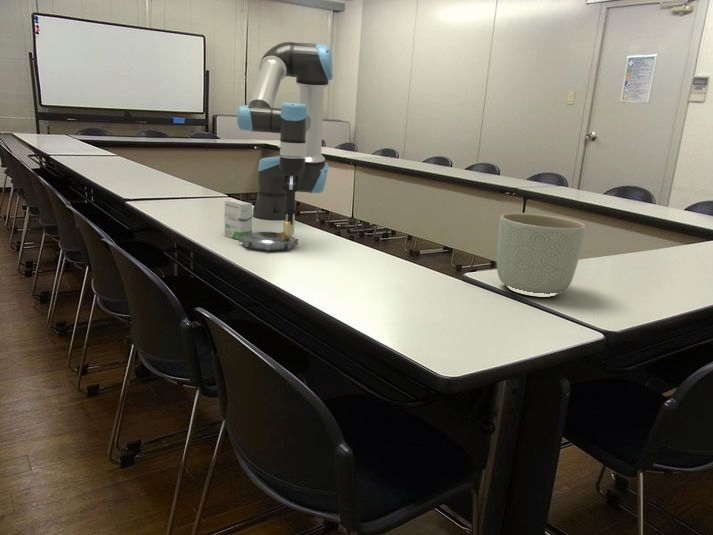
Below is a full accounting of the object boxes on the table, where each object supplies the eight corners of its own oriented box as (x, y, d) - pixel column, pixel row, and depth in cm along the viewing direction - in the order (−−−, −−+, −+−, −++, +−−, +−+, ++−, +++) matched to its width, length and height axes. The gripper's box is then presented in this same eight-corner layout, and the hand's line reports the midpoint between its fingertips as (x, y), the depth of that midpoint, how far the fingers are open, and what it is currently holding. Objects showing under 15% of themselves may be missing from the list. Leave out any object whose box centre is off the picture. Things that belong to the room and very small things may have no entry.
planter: (573, 309, 138) (587, 232, 133) (485, 295, 144) (496, 220, 139) (573, 288, 157) (585, 219, 152) (495, 275, 163) (505, 209, 158)
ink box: (252, 239, 186) (253, 203, 182) (240, 241, 182) (240, 204, 179) (235, 234, 191) (236, 199, 188) (223, 235, 187) (223, 200, 184)
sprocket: (297, 238, 187) (298, 214, 185) (298, 251, 170) (299, 225, 168) (241, 236, 185) (242, 211, 183) (236, 249, 168) (237, 222, 166)
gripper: (280, 154, 176) (278, 229, 183) (278, 158, 164) (276, 238, 170) (305, 155, 177) (302, 230, 183) (305, 159, 165) (301, 239, 171)
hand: (289, 234), depth 177 cm, fingers closed
